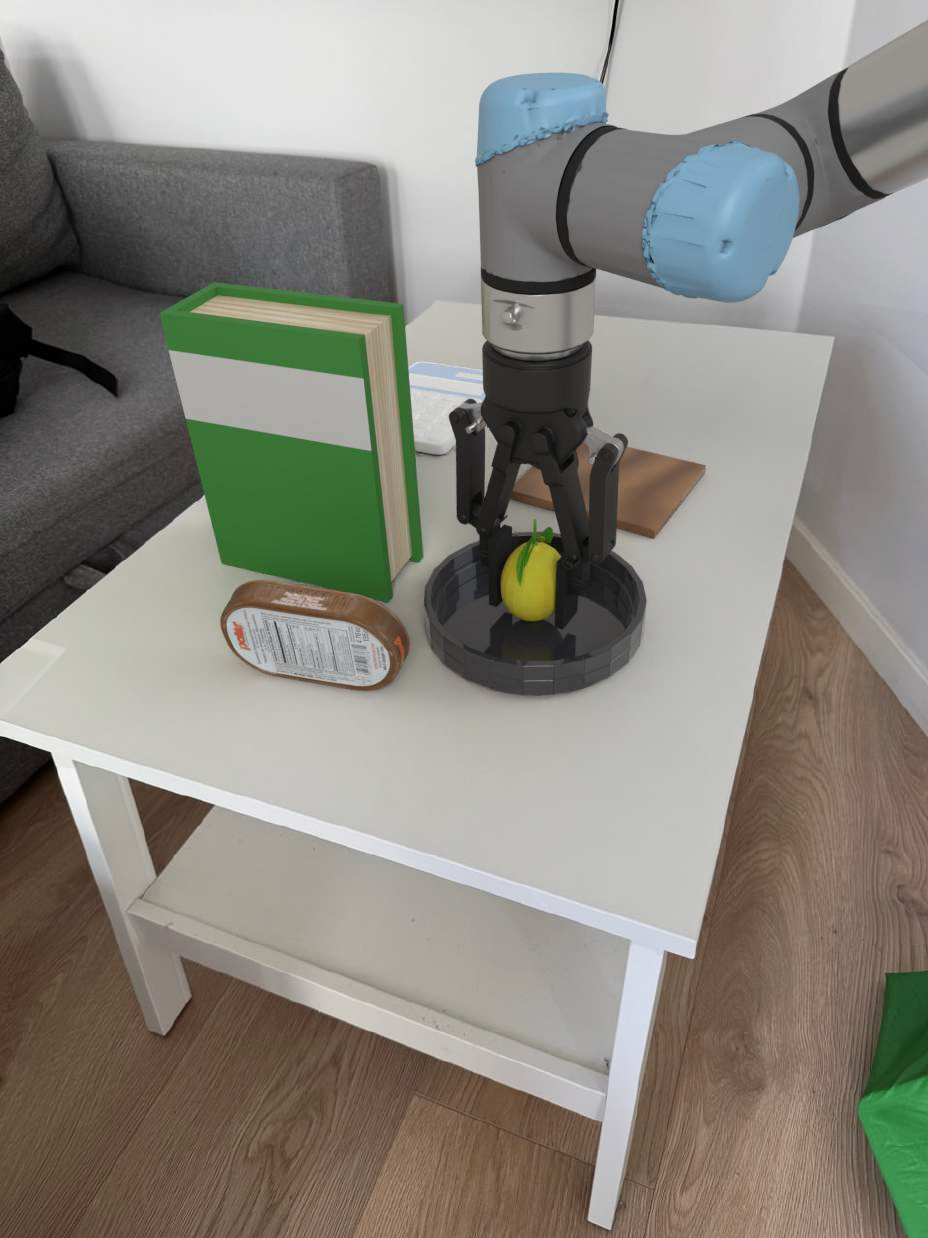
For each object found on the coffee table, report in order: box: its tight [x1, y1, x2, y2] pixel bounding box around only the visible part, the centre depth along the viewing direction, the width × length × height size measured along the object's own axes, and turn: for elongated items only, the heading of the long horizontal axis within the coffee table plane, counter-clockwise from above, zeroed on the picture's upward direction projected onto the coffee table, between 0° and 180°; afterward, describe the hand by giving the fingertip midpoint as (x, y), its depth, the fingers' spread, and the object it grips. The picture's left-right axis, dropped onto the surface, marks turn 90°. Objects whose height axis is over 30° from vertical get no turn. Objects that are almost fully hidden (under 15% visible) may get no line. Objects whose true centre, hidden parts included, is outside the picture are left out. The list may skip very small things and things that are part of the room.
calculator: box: [408, 361, 486, 456], centre depth 109 cm, size 13×20×2 cm, turn 156°
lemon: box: [501, 518, 561, 621], centre depth 74 cm, size 7×6×10 cm
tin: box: [219, 579, 411, 692], centre depth 71 cm, size 15×3×8 cm, turn 74°
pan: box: [423, 531, 648, 697], centre depth 77 cm, size 18×18×4 cm
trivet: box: [510, 443, 707, 539], centre depth 95 cm, size 16×14×1 cm
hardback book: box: [159, 281, 424, 603], centre depth 79 cm, size 18×7×24 cm, turn 67°
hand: (532, 607), depth 77 cm, fingers closed on lemon, 5 cm apart
